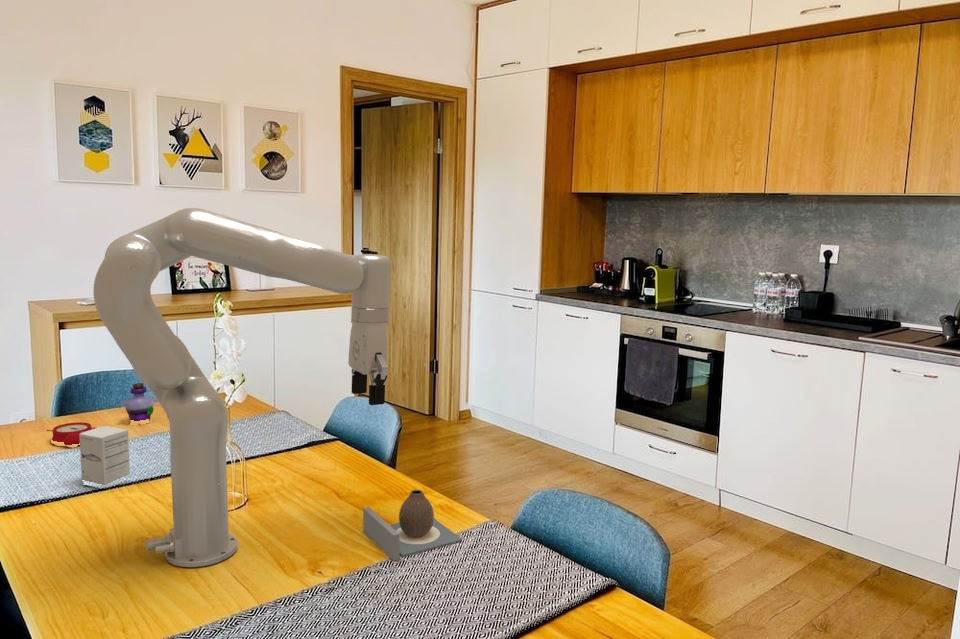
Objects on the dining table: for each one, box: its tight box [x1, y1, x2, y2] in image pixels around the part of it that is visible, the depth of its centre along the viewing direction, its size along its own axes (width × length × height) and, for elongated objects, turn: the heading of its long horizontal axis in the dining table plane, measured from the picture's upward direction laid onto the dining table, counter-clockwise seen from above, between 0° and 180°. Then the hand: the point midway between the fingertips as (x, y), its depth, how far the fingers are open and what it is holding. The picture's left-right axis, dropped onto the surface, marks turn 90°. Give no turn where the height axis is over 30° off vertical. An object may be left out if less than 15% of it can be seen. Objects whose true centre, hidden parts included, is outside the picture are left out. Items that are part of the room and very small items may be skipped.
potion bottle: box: [123, 382, 155, 421], centre depth 210 cm, size 9×9×12 cm
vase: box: [398, 489, 435, 538], centre depth 140 cm, size 7×7×9 cm
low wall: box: [362, 506, 400, 562], centre depth 136 cm, size 1×14×5 cm, turn 33°
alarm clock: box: [46, 421, 96, 445], centre depth 192 cm, size 10×6×15 cm
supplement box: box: [79, 425, 131, 485], centre depth 163 cm, size 7×7×13 cm
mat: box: [389, 517, 463, 558], centre depth 140 cm, size 13×13×1 cm
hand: (367, 398), depth 144 cm, fingers open, 9 cm apart
